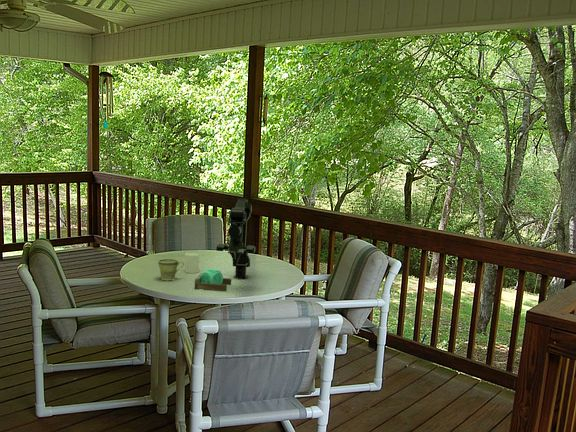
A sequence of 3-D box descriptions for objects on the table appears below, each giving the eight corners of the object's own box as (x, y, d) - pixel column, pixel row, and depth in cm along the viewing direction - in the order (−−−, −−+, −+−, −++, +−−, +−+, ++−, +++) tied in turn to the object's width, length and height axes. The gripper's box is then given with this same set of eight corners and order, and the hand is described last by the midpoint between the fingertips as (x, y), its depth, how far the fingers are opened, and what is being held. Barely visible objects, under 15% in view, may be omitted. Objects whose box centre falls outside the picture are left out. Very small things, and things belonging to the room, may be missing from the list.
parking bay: (201, 282, 285) (201, 272, 284) (231, 284, 284) (231, 274, 283) (194, 289, 271) (194, 279, 271) (225, 291, 270) (226, 281, 269)
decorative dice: (212, 283, 283) (212, 268, 282) (222, 287, 278) (223, 271, 277) (200, 286, 277) (200, 270, 276) (211, 289, 272) (211, 273, 271)
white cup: (181, 271, 306) (182, 253, 304) (193, 269, 311) (193, 252, 310) (189, 274, 300) (190, 256, 299) (201, 272, 306) (202, 254, 304)
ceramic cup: (158, 282, 281) (158, 262, 280) (157, 277, 290) (157, 258, 289) (184, 281, 284) (184, 262, 283) (182, 276, 294) (183, 258, 293)
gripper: (214, 235, 266) (213, 267, 268) (252, 238, 264) (251, 270, 266) (219, 232, 277) (218, 262, 279) (256, 234, 275) (254, 265, 277)
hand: (235, 265), depth 275 cm, fingers closed
